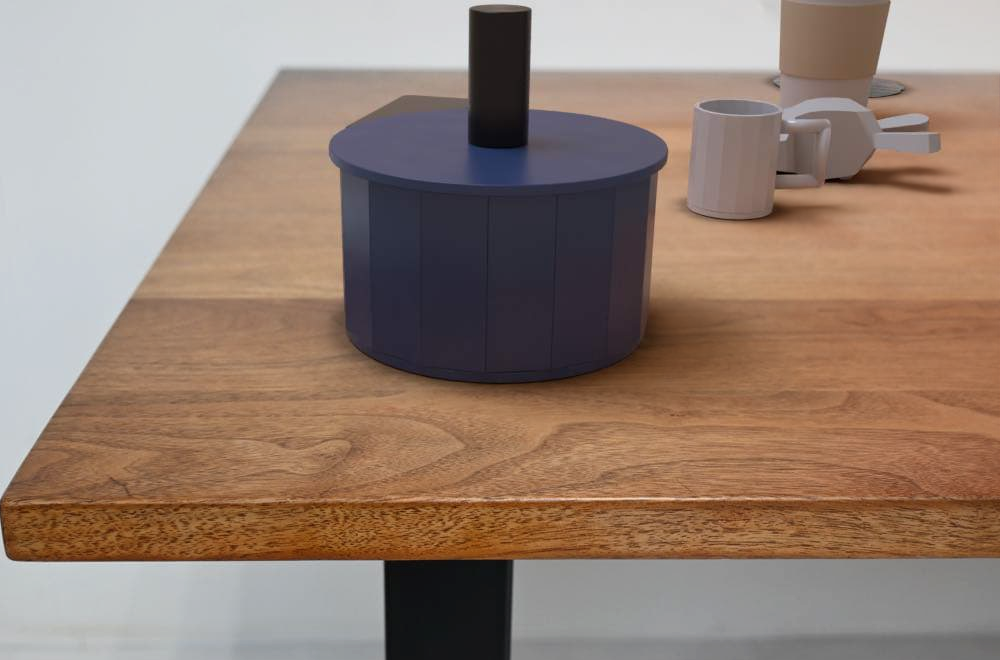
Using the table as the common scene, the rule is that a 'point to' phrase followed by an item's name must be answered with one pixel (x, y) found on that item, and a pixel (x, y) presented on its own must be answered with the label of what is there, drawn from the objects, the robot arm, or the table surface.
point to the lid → (498, 132)
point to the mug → (746, 157)
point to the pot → (496, 279)
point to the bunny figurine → (851, 137)
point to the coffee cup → (829, 48)
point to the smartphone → (414, 106)
